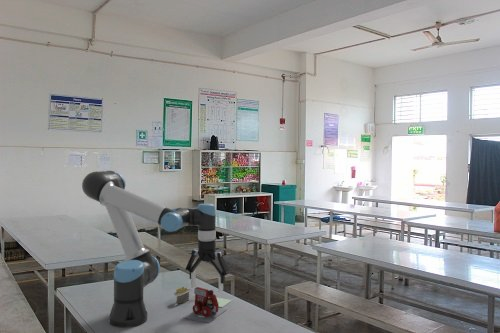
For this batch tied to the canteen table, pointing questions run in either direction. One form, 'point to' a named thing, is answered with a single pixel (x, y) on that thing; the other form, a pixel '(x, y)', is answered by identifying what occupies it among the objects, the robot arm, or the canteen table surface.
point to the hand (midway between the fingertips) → (207, 288)
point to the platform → (182, 294)
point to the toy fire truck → (205, 302)
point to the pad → (223, 302)
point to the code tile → (202, 318)
